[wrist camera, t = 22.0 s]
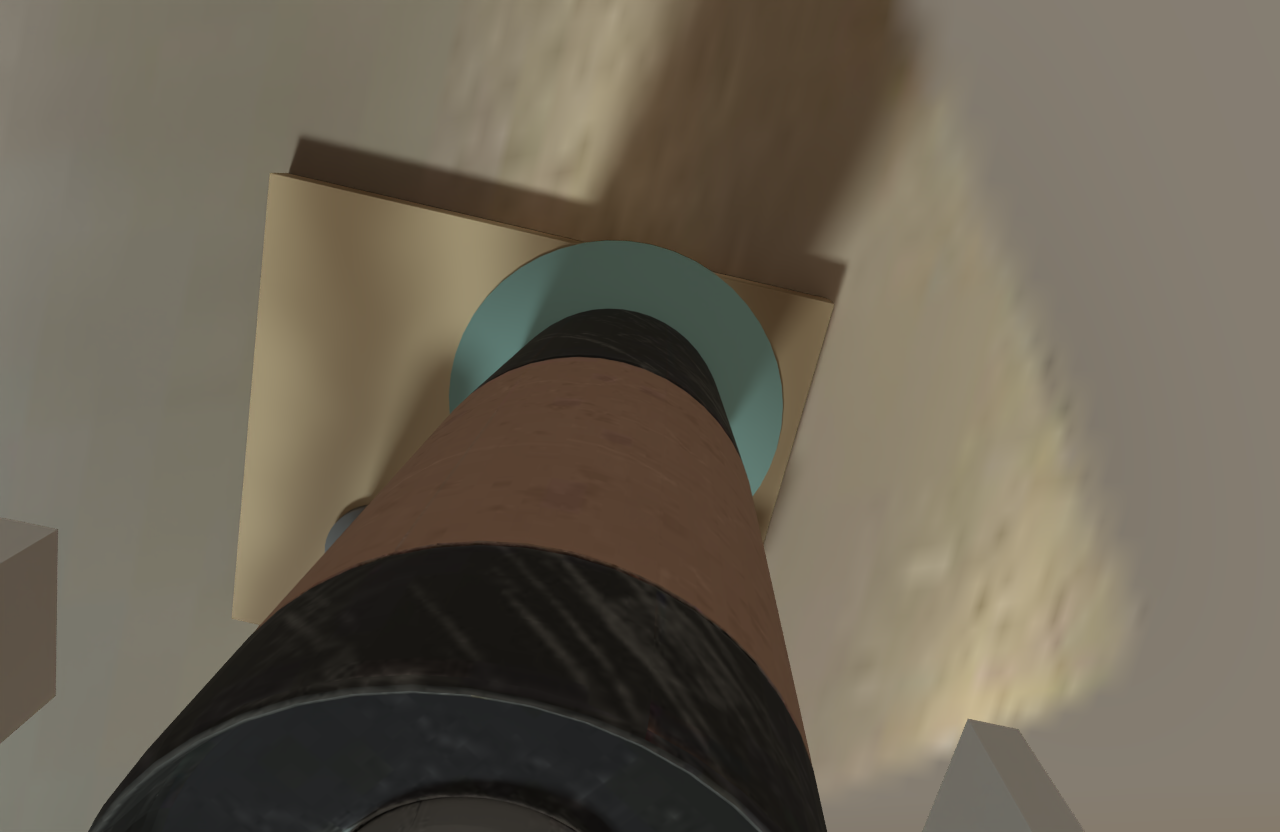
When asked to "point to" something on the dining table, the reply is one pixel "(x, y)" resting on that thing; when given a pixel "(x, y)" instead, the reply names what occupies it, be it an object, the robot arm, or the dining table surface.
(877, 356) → the dining table surface
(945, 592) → the dining table surface
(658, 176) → the dining table surface
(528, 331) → the felt pad
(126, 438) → the dining table surface
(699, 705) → the travel mug
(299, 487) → the oak board
